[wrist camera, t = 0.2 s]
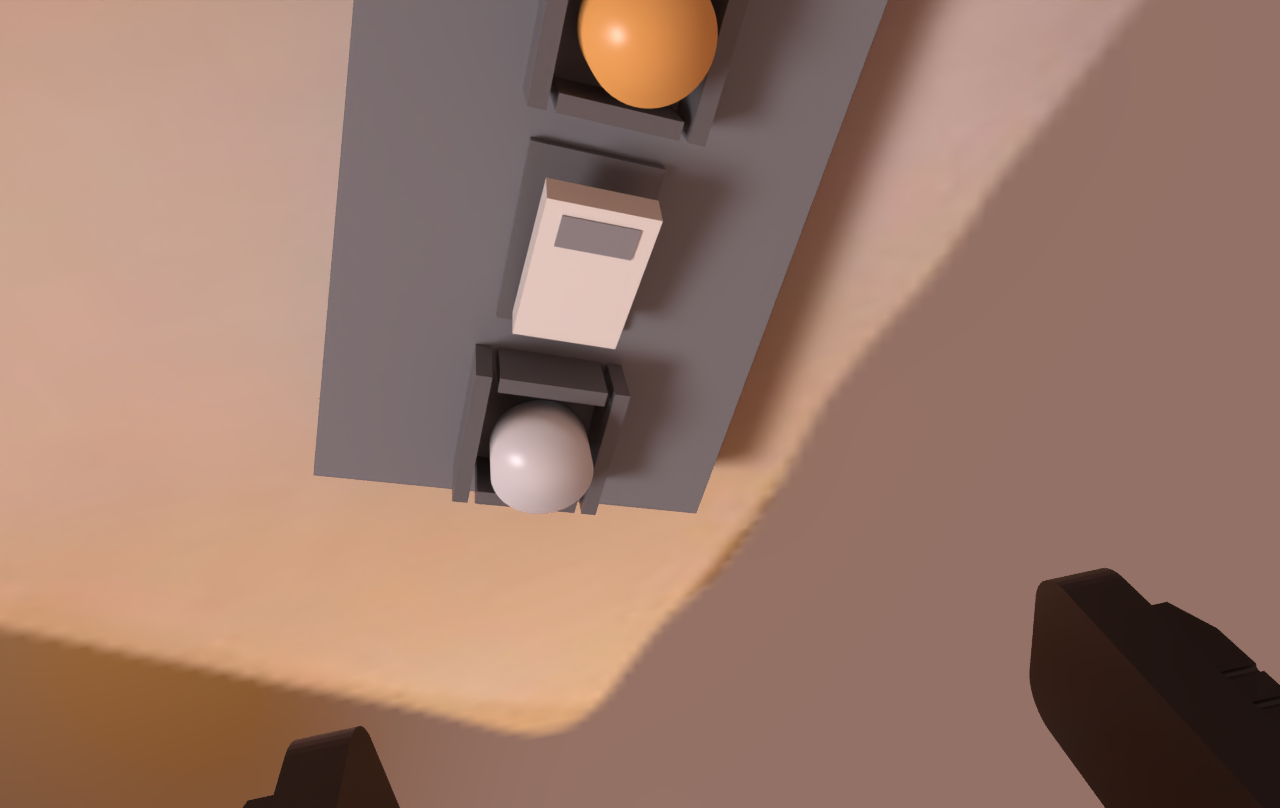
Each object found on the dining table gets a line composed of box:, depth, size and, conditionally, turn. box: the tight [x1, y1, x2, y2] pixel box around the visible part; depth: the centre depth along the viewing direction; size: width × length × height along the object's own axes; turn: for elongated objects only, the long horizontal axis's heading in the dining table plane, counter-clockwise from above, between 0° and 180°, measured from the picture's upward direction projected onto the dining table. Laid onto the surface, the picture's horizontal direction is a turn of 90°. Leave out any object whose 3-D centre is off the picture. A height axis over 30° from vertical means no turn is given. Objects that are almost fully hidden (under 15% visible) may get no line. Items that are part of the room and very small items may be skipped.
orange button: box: [577, 0, 718, 108], centre depth 21 cm, size 3×3×2 cm
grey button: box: [489, 400, 594, 514], centre depth 27 cm, size 3×3×2 cm
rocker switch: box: [512, 178, 663, 349], centre depth 25 cm, size 5×3×1 cm
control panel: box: [314, 0, 888, 515], centre depth 25 cm, size 27×14×5 cm, turn 165°
